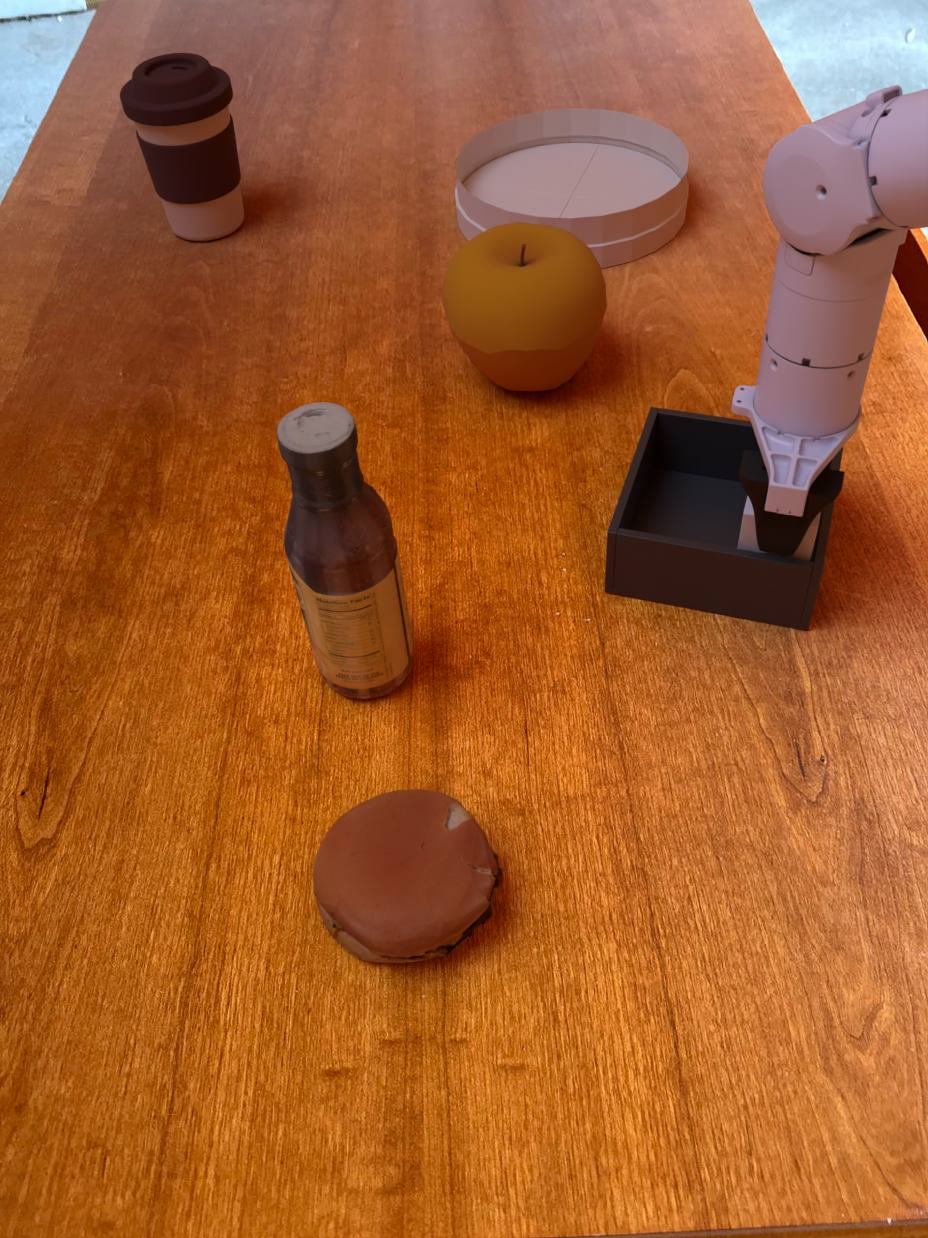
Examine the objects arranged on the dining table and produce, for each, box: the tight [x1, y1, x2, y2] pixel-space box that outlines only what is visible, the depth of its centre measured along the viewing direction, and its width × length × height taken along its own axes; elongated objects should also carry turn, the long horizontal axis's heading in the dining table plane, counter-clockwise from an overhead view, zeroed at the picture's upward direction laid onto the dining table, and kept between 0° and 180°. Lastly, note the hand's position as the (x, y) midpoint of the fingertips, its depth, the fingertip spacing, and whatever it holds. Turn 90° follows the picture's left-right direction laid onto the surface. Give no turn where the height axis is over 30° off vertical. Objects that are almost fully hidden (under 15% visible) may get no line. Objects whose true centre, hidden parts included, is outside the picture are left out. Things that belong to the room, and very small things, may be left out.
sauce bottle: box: [276, 401, 414, 700], centre depth 65 cm, size 6×6×20 cm
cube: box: [737, 496, 821, 561], centre depth 71 cm, size 4×4×4 cm
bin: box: [604, 406, 845, 632], centre depth 76 cm, size 13×13×6 cm
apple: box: [440, 222, 608, 392], centre depth 88 cm, size 13×13×11 cm
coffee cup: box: [119, 52, 245, 242], centre depth 106 cm, size 10×10×15 cm
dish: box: [454, 107, 690, 270], centre depth 108 cm, size 22×22×5 cm
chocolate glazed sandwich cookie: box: [312, 788, 504, 964], centre depth 60 cm, size 10×9×5 cm
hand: (781, 524), depth 71 cm, fingers closed on cube, 4 cm apart
